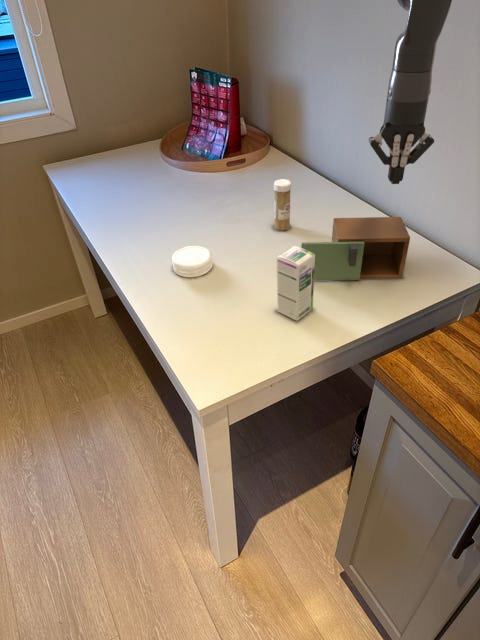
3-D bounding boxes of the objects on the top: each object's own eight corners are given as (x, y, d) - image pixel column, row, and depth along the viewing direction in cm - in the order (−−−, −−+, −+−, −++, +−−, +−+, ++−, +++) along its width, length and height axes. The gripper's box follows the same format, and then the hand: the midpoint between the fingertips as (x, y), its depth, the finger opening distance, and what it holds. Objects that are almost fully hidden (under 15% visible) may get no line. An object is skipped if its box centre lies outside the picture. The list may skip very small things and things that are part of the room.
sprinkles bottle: (285, 232, 135) (285, 186, 126) (270, 228, 137) (270, 183, 128) (293, 225, 138) (294, 180, 129) (279, 221, 140) (279, 177, 131)
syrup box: (297, 322, 105) (299, 265, 95) (276, 311, 108) (276, 255, 99) (313, 309, 108) (316, 253, 99) (291, 299, 111) (293, 244, 102)
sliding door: (359, 278, 115) (364, 241, 109) (361, 285, 113) (366, 248, 107) (300, 278, 116) (301, 242, 110) (300, 286, 114) (302, 249, 107)
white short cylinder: (187, 253, 129) (185, 241, 126) (219, 261, 125) (218, 249, 122) (165, 272, 122) (163, 260, 120) (199, 282, 118) (198, 270, 116)
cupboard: (393, 256, 123) (401, 216, 116) (402, 278, 115) (410, 237, 108) (330, 256, 124) (333, 218, 117) (334, 279, 116) (338, 238, 109)
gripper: (438, 87, 93) (422, 174, 104) (369, 91, 94) (359, 176, 105) (450, 98, 88) (431, 189, 99) (375, 102, 89) (365, 191, 100)
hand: (394, 182), depth 102 cm, fingers closed
